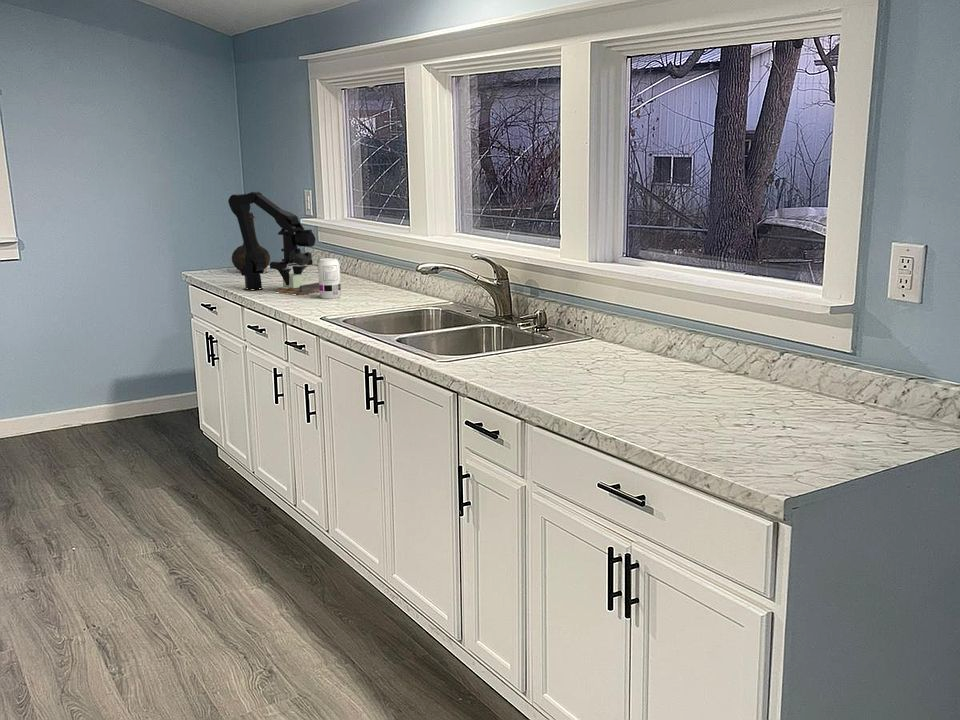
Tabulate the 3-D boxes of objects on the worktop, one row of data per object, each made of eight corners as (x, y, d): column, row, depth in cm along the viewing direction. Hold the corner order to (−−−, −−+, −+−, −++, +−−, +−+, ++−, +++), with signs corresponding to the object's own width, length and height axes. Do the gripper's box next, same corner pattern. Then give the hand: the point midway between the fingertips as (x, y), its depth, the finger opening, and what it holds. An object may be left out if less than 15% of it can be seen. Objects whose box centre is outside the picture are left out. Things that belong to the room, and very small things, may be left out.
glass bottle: (252, 268, 463) (248, 210, 457) (279, 270, 453) (275, 211, 447) (224, 273, 448) (220, 213, 442) (251, 275, 439) (247, 214, 433)
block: (283, 287, 386) (282, 274, 385) (292, 285, 390) (291, 273, 389) (293, 288, 383) (292, 275, 381) (302, 286, 387) (301, 274, 385)
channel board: (275, 293, 383) (275, 284, 383) (299, 288, 394) (298, 280, 393) (300, 295, 375) (299, 286, 375) (323, 291, 386) (323, 282, 385)
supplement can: (315, 298, 368) (313, 260, 365) (328, 295, 375) (326, 257, 372) (332, 299, 364) (330, 261, 361) (345, 296, 371) (343, 258, 368)
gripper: (287, 249, 371) (289, 288, 374) (321, 244, 385) (323, 283, 389) (267, 247, 377) (270, 286, 380) (301, 243, 392) (303, 281, 395)
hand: (292, 284), depth 386 cm, fingers closed on block, 5 cm apart
